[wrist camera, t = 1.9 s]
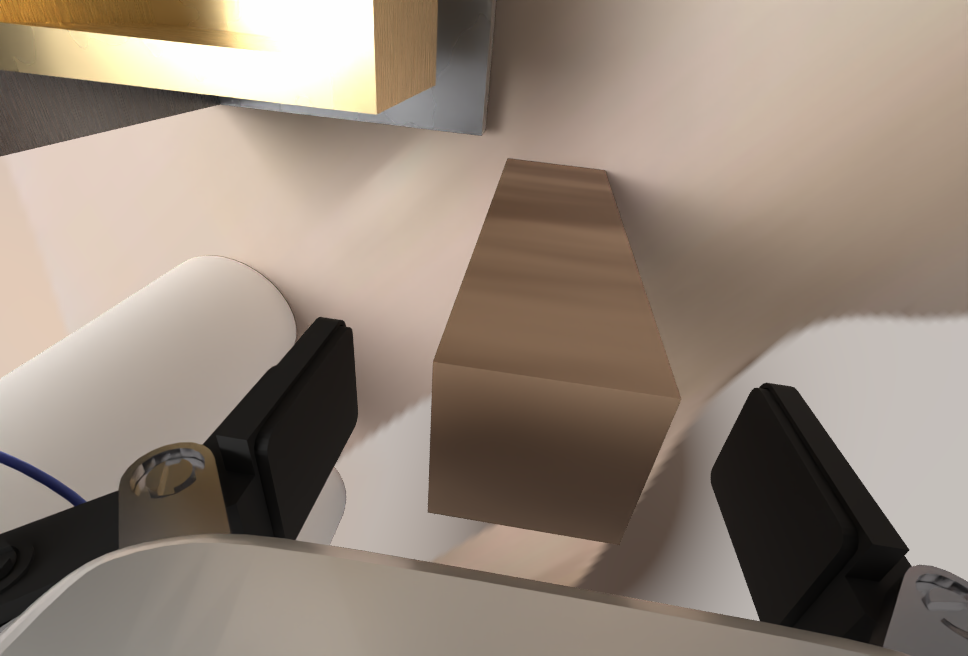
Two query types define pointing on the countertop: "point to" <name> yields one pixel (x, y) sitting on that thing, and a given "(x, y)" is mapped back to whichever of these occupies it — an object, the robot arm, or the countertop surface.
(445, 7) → the cup bracket
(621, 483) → the rail post
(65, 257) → the countertop surface
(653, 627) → the robot arm
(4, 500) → the cylindrical container
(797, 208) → the countertop surface
